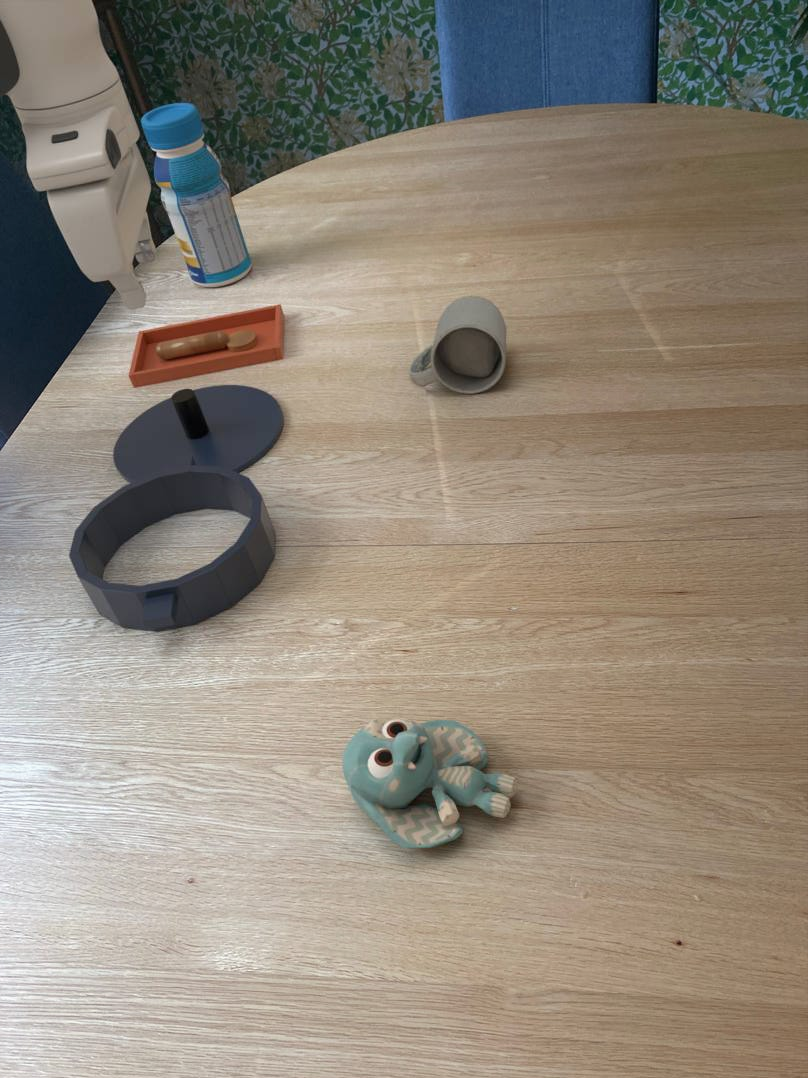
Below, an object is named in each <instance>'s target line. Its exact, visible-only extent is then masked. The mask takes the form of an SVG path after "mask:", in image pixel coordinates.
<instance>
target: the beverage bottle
mask: <svg viewBox="0 0 808 1078" xmlns="http://www.w3.org/2000/svg"><path fill="white" fill-rule="evenodd" d="M197 109H198V108H197V107H196V106H195V105H194V104H193V103H189V102H176V103H170V104H165V105H162V106H159V107H155V108H154V109H152V110H150V111H148V112H146V113H145V114H143V116H141V118H140V119H141V120H140V122H141V127H142V130H143V133H144V136H145V138H146V142H147V143H148V147H150V149H151V150H152V151H153V152H156V154H155V159H154V164H153V176H154V177H153V178H154V182H155V183H156V185H157V187H159V188H160V190H161V192H160V200H161V204H162V207H163V209H164V210H165V212H166V213H167V215H168V218H169V221H170V223H171V226H172V229H173V232H174V234H175V237H176V239H177V242H178V246H179V249H180V250H181V253H182V256H183V258H184V261H185V264H186V267H187V271H188V275H189V277H190V279H191V281H192V282H193V283H194V284H195V285H197V286H199V287H201V288H202V287H203V288H218V287H222V286H223V287H224V286H227V285H230V284H233V283H235V282H238V281H240V280H241V279H243V278H244V277H245V276H247V275H248V274H249V272H251V270H252V266H253V265H252V264H253V261H252V258H251V255H250V253H249V251H248V247H247V244H246V241H245V238H244V235H243V231H242V229H241V224H240V222H239V218H238V215H237V212H236V209H235V205H234V203H233V202H234V201H233V198H232V194H231V188H230V184H229V182H228V180H227V178H226V177H225V176H224V175H223V173H222V163H221V161H220V159H219V157H218V155H217V154H216V153H215V151H214V150H213V149H212V148H211V147H210V146H209V145H208V144H207V143H206V142H205V141H204V140H203V139H204V137H205V129H204V126H203V123H202V119H201V115H200V113H199V110H197Z"/></svg>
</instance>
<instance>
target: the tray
mask: <svg viewBox="0 0 808 1078" xmlns="http://www.w3.org/2000/svg"><path fill="white" fill-rule="evenodd" d="M242 330H250V331H253V332H255V334H256V337H257V340H258V341H257V344H256V345H255V346H254V347H252V348H251V349H249V350H246V351H242V352H232V351H230V350H228V348H227V347H226V348H224V349H220V350H215V351H209V352H204V353H199V354H194V355H189V356H183V357H178V358H173V359H168V360H163V359H160V358H159V357H158V356H157V354H156V351H155V349H156V346H157V345H158V344H159V343H160V342H165V341H170V340H175V339H180V338H186V337H191V336H196V335H201V334H206V333H212V332H217V331H222V332H225V333H226V334H227V335H228V336H230V335H231V334H233V333H235V332H238V331H242ZM284 333H285V313H284V311H283V308H282V304H280V303H279V304H273V305H268V306H263V307H259V308H254V309H249V310H243V311H237V312H231V313H227V314H222V315H216V316H212V317H207V318H201V319H196V320H191V321H186V322H181V323H176V324H175V323H174V324H171V325H165V326H160V327H154V328H149V329H145V330H139V331H138V334H137V337H136V342H135V346H134V351H133V355H132V359H131V362H130V363H131V364H130V368H129V372H128V379H129V381H130V382H131V385H132V387H133V388H140V387H145V386H150V385H154V384H161V383H166V382H171V381H177V380H181V379H187V378H193V377H197V376H202V375H207V374H213V373H219V372H223V371H229V370H234V369H238V368H244V367H249V366H255V365H260V364H265V363H270V362H275V361H281V360H284V339H285V338H284Z"/></svg>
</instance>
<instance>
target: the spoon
mask: <svg viewBox="0 0 808 1078" xmlns="http://www.w3.org/2000/svg"><path fill="white" fill-rule="evenodd" d="M257 341H258V340H257V337H256V334H255V332H253V331H250V330H242V331H238V332H235V333H233V334H231V335H230V336H228V335H227V334H226V333H225V332H222V331H217V332H212V333H206V334H201V335H196V336H191V337H186V338H180V339H175V340H170V341H165V342H160V343H159V344H158V345H157V346H156V349H155V351H156V354H157V356H158V357H159V358H160V359H163V360H168V359H173V358H178V357H183V356H189V355H194V354H199V353H204V352H209V351H215V350H220V349H224V348H226V347H227V348H228V350H230V351H232V352H242V351H246V350H249V349H251V348H252V347H254V346H255V345H256V344H257Z"/></svg>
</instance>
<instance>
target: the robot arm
mask: <svg viewBox="0 0 808 1078" xmlns="http://www.w3.org/2000/svg"><path fill="white" fill-rule="evenodd" d="M4 96H8V97H9V99H10V101H11V103H12V105H13V108H14V110H15V112H16V114H17V116H18V119H19V121H20V123H21V129H22V133H23V135H24V139H25V145H26V146H25V147H26V172H27V175H28V177H29V179H30V181H31V183H32V185H33V187H34V189H35V190H36V191H37V192H46V197H47V202H48V205H49V207H50V211H51V213H52V216H53V219H54V221H55V223H56V224H57V226H58V228H59V231H60V233H61V235H62V236H63V239H64V241H65V243H66V245H67V246H68V249H69V251H70V253H71V254H72V256H73V258H74V260H75V262H76V264H77V266H78V267H79V269H80V271H81V272H82V273H83V274H84V275H85V277H87V279H88V280H90V281H91V282H93V283H97V282H98V283H99V282H104V281H105V282H106V281H109V282H110V283H111V285H112V286H113V287H114V289H115V290H117V292H118V293H119V295H120V297H121V299H122V301H123V304H124V306H125V308H126V309H128V310H137V309H142V308H144V307H145V306H146V301H147V293H146V291H145V288H144V286H143V283H142V281H140V280H139V281H138V278H137V276H136V274H135V272H134V265H133V261H134V258H135V259H136V261H137V262H138V263H139V264H146V263H151V262H154V261H155V259H156V256H157V248H156V245H155V242H154V240H153V237H152V232H151V225H150V222H149V221H150V220H149V216H148V213H147V207H148V202H149V200H150V196H151V191H152V183H151V180H150V179H151V178H150V176H149V173H148V169H147V167H146V165H145V162H144V160H143V157H142V154H141V151H140V149H139V147H138V144H137V141H138V140H139V139H140V136H141V133H140V130H139V127H138V124H137V121H136V118H135V116H134V113H133V110H132V108H131V105H130V103H129V99H128V97H127V94H126V91H125V89H124V86H123V83H122V80H121V77H120V74H119V71H118V70H117V68H116V66H115V64H114V63H113V61H112V60H111V59H110V57H109V55H108V53H107V52H106V49H105V47H104V45H103V42H102V37H101V32H100V23H99V17H98V14H97V11H96V8H95V5H94V2H93V0H0V98H2V97H4Z"/></svg>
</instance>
